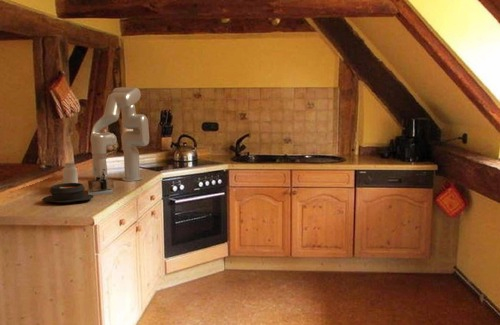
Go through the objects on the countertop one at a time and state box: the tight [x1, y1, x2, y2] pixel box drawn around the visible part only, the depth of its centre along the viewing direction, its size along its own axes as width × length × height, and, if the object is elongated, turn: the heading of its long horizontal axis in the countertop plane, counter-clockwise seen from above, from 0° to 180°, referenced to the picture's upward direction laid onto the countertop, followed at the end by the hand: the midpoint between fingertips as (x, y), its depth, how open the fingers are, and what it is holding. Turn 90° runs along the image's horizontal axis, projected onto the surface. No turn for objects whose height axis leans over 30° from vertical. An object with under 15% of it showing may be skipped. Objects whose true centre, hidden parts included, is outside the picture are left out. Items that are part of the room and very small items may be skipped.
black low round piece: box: [41, 182, 95, 205], centre depth 223 cm, size 25×19×8 cm
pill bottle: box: [62, 162, 79, 184], centre depth 256 cm, size 8×8×15 cm
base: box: [87, 188, 114, 196], centre depth 245 cm, size 13×13×6 cm
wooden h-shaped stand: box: [87, 177, 115, 191], centre depth 245 cm, size 12×6×5 cm, turn 132°
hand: (101, 187), depth 245 cm, fingers closed on wooden h-shaped stand, 6 cm apart
